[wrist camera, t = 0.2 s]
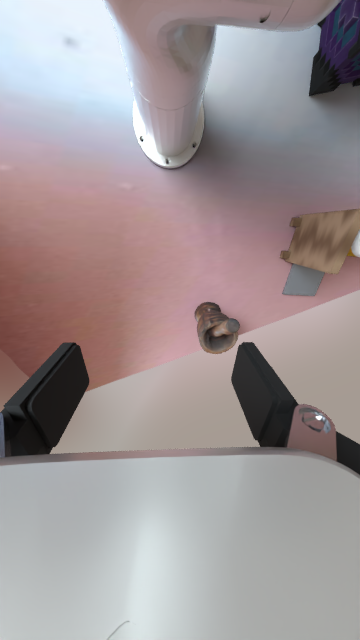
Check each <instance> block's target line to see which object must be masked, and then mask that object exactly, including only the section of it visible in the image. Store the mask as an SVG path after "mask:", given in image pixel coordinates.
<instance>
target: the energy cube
mask: <svg viewBox="0 0 360 640" xmlns="http://www.w3.org/2000/svg"><path fill="white" fill-rule="evenodd" d="M318 25H320V26H322V30H321V38H320V46H319V51H318V52H317V54H316V55H315V56H314V58H313V67H312V75H311V83H310V91H309V96H312V95H316V94H321V93H326V92H330V91H334V90H335V89H336V88H337V87H338V86H339V85H340V84H344V83H348V82H353V87H354V86H359V85H360V0H341V1H340V2H339V3H338V5H337V6H336V7H335V8H334V9H333V10H332V11H331V12H330V13H329V14H328V15H327V16H326V17H325V18H324V19H323V20H321V21H320V22H319V23H318Z"/></svg>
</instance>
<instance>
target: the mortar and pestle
mask: <svg viewBox="0 0 360 640" xmlns="http://www.w3.org/2000/svg"><path fill="white" fill-rule="evenodd" d="M195 319H196V320H197V322H198V325H197V332H198V337H199V342H200V345H201V347H202V348H203V349H204V351H206V352H209V353H212V354H219V353H222V352H226V351H227V350H229V349H230V348H232V347H233V346H234V345H235V343H236V341H237V339H238V332H237V331H238V330H239V327H240V324H239V322H238V321H237V320H235V319H232V318H230V319H229V318H228V317H227V316H226V315H224V314H222V313H221V310H220V308H219V306H218V305H217V304H215V303H211V302H206V303H202V304H201V305H200V306H198V308H197V309H196V311H195Z"/></svg>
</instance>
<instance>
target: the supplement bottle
mask: <svg viewBox="0 0 360 640" xmlns="http://www.w3.org/2000/svg"><path fill="white" fill-rule="evenodd" d="M347 256H354V257H360V229H359V231H358V234H357V236H356V238H355V240H354V242H353V244H352V246H351V248H350V250H349V252H348V254H347Z"/></svg>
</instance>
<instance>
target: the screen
mask: <svg viewBox="0 0 360 640" xmlns="http://www.w3.org/2000/svg"><path fill="white" fill-rule="evenodd" d="M290 226H296V230H295V233H294V236H293V239H292V242H291V245H290V248H289V251H281V255H280V258H284V259H286V260H285V261H287V262H290V263H294V264H297V265H301V266H304V267H308V268H312V269H315V270H319V271H322V272H326V273H329V274H338V273H339V271H340V269H341V267H342V265H343V263H344V260H345V258H346V256H347V254H348V252H349V250H350V248H351V246H352V244H353V242H354V240H355V238H356V236H357V234H358V231H359V229H360V209H353V210H344V211H334V212H325V213H315V214H305V215H300V218H292V220H291V223H290Z"/></svg>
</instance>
